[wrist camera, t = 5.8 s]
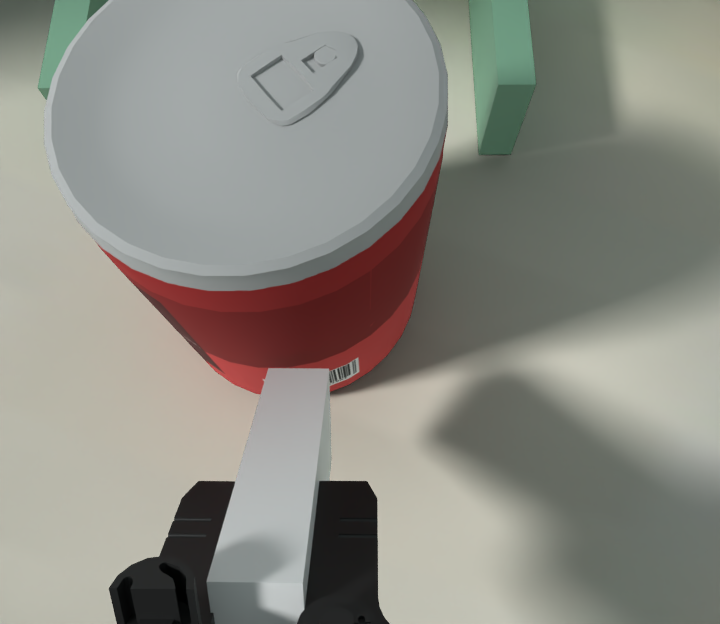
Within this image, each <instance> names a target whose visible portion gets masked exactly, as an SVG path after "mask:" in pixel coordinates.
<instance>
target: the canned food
mask: <svg viewBox="0 0 720 624" xmlns="http://www.w3.org/2000/svg"><path fill="white" fill-rule="evenodd" d="M447 126H448V74H447V70H446V66H445V62H444V57H443V53H442V49H441V45H440V43H439V41H438V39H437V37H436V35H435V33H434V31H433V29H432V27H431V25H430V23H429V21H428V19H427V17H426V16H425V14H424V13H423V12H422V11H421V10H420V8H419V7H418V6H417V5H416V4H415V2H414V1H413V0H109V1H107V2H106V3H105V4H104V5H103V6H102V7H101V8H100V9H99V10H98V11H97V12H96V13H95V14H94V15H92V16H91V17H90V18H89V19H88V21H87V22H86V23H85V24H84V26H83V27H82V28H81V30H80V31H79V32H78V34H77V35H76V36H75V38H74V39H73V40H72V42H71V43H70V44H69V46H68V47H67V49H66V51H65V53H64V55H63V57H62V59H61V61H60V63H59V65H58V67H57V69H56V72H55V74H54V76H53V78H52V82H51V86H50V90H49V94H48V98H47V102H46V106H45V110H44V145H45V149H46V154H47V158H48V162H49V166H50V170H51V174H52V177H53V179H54V181H55V183H56V184H57V186H58V188H59V190H60V192H61V194H62V196H63V198H64V199H65V201H66V203H67V205H68V206H69V207H70V209H71V210H72V212H73V214H74V216H75V218H76V220H77V221H78V223H79V224H80V225H81V226H82V227H83V228H84V229H85V230H86V232H87V233H88V234H89V235H90V236H91V237H92V238H93V239H94V240H95V242H96V243H97V244H98V246H99V247H100V248H101V249H102V251H103V252H104V253H105V254H106V255H107V256H108V257H109V258H110V259H111V260H112V262H113V263H114V264H115V265H116V266H117V267H118V268H119V269H120V270H121V272H122V273H123V274H124V275H125V276H126V277H127V278H128V279H129V280H130V281H131V282H132V283H133V284H134V285H135V286H136V287H137V288H138V290H139V291H140V292H141V293H142V294H143V295H144V296H145V297H146V298H147V299H148V300H149V301H150V302H151V303H152V304H153V305H154V307H155V308H156V309H157V310H158V311H159V312H160V313H161V314H162V315H163V316H164V317H165V318H166V319H167V320H168V321H169V322H170V324H171V325H172V326H173V327H174V328H175V329H176V330H177V331H178V332H179V333H180V334H181V335H182V336H183V337H184V338H185V339H186V341H187V342H188V343H189V344H190V345H191V346H192V347H193V348H194V349H195V350H196V351H197V352H198V353H199V354H200V355H201V356H202V357H203V359H204V360H205V361H206V362H207V363H208V364H209V365H210V366H211V367H212V368H213V369H214V370H215V371H216V372H217V373H218V374H220V375H221V376H223V377H224V378H226V379H227V380H228V381H230V382H231V383H233V384H234V385H237V386H239V387H241V388H244V389H246V390H248V391H251V392H253V393H256V394H261V392H262V388H263V385H264V381H265V378H266V374H267V371H268V368H319V369H329V383H330V392H331V391H334V390H336V389H339V388H341V387H344V386H346V385H349V384H351V383H352V382H354V381H355V380H357V379H359V378H360V377H362V376H363V375H365V374H367V373H368V372H370V371H371V370H372V369H373V368H374V367H375V366H376V365H377V364H378V363H380V362H381V361H382V360H383V359H384V358H385V357H386V356H387V355H388V354H389V352H390V351H391V350H392V348H393V347H394V345H395V344H396V343H397V341H398V340H399V339H400V337H401V336H402V333H403V331H404V329H405V327H406V325H407V323H408V321H409V318H410V316H411V312H412V308H413V304H414V299H415V295H416V290H417V285H418V280H419V275H420V270H421V265H422V260H423V255H424V250H425V244H426V239H427V234H428V229H429V224H430V219H431V214H432V209H433V204H434V199H435V194H436V189H437V184H438V179H439V174H440V169H441V163H442V158H443V147H444V142H445V137H446V131H447Z"/></svg>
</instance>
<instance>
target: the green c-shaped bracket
mask: <svg viewBox="0 0 720 624" xmlns="http://www.w3.org/2000/svg"><path fill="white" fill-rule="evenodd" d="M107 1H109V0H55V3H54V8H53V13H52V18H51V23H50V29H49V34H48V39H47V44H46V49H45V54H44V59H43V64H42V69H41V74H40V79H39V84H38V89H39V91H40V92H41V93H42V95H43V96H44V97H45V99H46V100H47V98H48V94H49V90H50V86H51V82H52V78H53V76H54V74H55V72H56V69H57V67H58V65H59V63H60V61H61V59H62V57H63V55H64V53H65V51H66V49H67V47H68V46H69V44H70V43H71V42H72V40H73V39H74V38H75V36H76V35H77V34H78V32H79V31H80V30H81V28H82V27H83V26H84V24H85V23H86V22H87V21H88V19H89V18H90V17H91V16H92V15H94V14H95V13H96V12H97V11H98V10H99V9H100V8H101V7H102V6H103V5H104V4H105V3H106V2H107ZM469 14H470V30H471V45H472V60H473V75H474V91H475V106H476V121H477V136H478V151H479V155H500V154H511V152H512V149H513V147H514V144H515V141H516V138H517V136H518V133H519V130H520V127H521V125H522V122H523V119H524V116H525V114H526V111H527V108H528V105H529V103H530V100H531V97H532V94H533V92H534V89H535V86H536V78H535V68H534V59H533V49H532V39H531V30H530V20H529V10H528V1H527V0H469Z"/></svg>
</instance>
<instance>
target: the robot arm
mask: <svg viewBox="0 0 720 624" xmlns="http://www.w3.org/2000/svg"><path fill="white" fill-rule="evenodd" d="M330 469H331V421H330V383H329V369H319V368H268V371H267V374H266V378H265V381H264V385H263V388H262V392H261V395H260V399H259V402H258V405H257V409H256V412H255V416H254V419H253V423H252V426H251V430H250V433H249V437H248V440H247V443H246V447H245V450H244V454H243V457H242V461H241V464H240V468H239V471H238V474H237V478H236V481H235V482H232V481H198V482H197V483H196V484H195V485H194V486H193V487H192V488H191V489H190V490H189V491H188V492H187V493H186V494H185V496H184V497H183V498H182V499H181V502H180V505H179V507H178V510H177V512H176V515H175V517H174V518H175V519H174V521H173V523H172V525H171V528H170V530H169V533H168V537H167V538H166V541H165V543H164V546H163V548H162V551H161V553H160V556H159V557H153V558H147V559H145V560H142V561H140V562H137V563H135V564H133V565H131V566H129V567H128V568H127V569H126V570H124V571H123V572H122V573H120V574H119V575H118V576H117V577H116V579H115V580H114V582H113V583H112V585H111V586H110V587H109V591H110V595H111V600H112V604H113V608H114V613H115V617H116V621H117V624H389V622H388V621H387V620H386V619H385V618H384V616H383V614H382V612H381V610H380V607H379V601H378V538H377V497H376V496H375V494H374V492H373V490H372V489H371V487H370V485H369V484H368V482H367V481H329V480H330Z"/></svg>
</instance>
